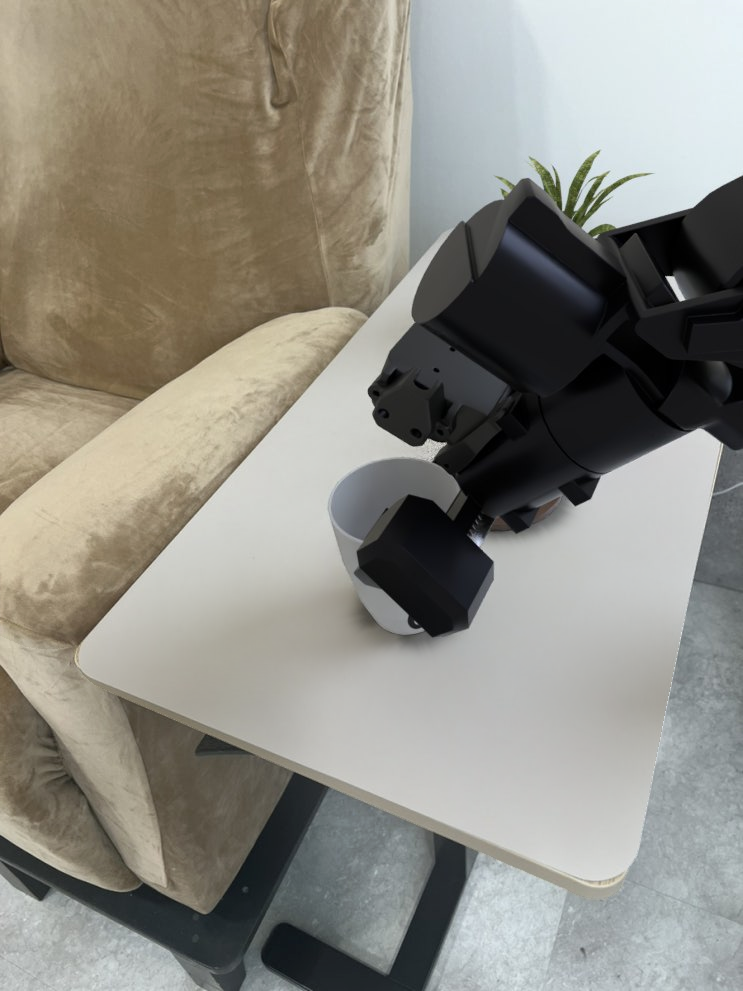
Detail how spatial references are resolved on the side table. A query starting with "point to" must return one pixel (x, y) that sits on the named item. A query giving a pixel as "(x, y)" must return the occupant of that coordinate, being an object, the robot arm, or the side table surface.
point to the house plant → (577, 192)
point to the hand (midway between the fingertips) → (394, 526)
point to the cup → (361, 507)
